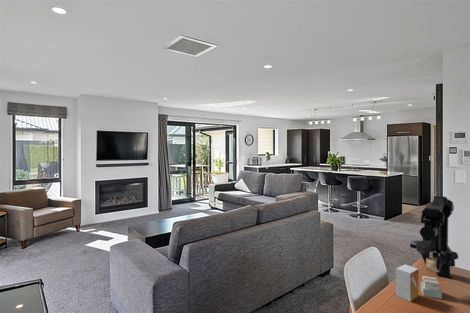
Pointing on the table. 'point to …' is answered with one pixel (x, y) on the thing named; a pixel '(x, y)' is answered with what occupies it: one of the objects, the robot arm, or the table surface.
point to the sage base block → (431, 292)
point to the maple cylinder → (431, 264)
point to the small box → (407, 282)
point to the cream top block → (430, 283)
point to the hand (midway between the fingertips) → (432, 267)
